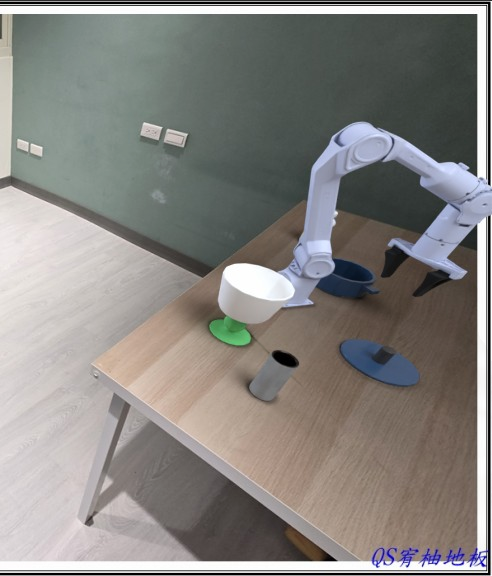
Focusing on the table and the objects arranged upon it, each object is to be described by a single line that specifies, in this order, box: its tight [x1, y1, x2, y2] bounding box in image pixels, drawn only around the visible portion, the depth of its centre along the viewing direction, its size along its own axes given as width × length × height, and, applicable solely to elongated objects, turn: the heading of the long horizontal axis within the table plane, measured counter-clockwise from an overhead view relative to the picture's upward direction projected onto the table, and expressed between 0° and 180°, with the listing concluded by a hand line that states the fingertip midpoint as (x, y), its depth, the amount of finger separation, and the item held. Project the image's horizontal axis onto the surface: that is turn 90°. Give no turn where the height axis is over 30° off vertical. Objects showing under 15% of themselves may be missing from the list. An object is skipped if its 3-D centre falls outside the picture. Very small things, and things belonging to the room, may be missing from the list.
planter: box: [248, 349, 300, 402], centre depth 74 cm, size 4×4×10 cm
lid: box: [339, 338, 420, 388], centre depth 82 cm, size 13×13×5 cm
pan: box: [315, 256, 381, 298], centre depth 105 cm, size 12×18×5 cm
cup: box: [208, 262, 295, 347], centre depth 86 cm, size 14×14×16 cm
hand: (400, 286), depth 91 cm, fingers open, 7 cm apart
